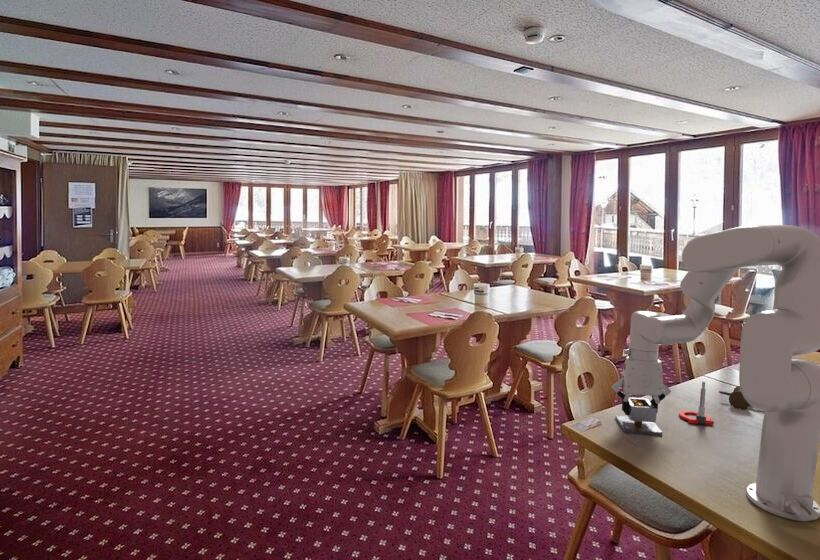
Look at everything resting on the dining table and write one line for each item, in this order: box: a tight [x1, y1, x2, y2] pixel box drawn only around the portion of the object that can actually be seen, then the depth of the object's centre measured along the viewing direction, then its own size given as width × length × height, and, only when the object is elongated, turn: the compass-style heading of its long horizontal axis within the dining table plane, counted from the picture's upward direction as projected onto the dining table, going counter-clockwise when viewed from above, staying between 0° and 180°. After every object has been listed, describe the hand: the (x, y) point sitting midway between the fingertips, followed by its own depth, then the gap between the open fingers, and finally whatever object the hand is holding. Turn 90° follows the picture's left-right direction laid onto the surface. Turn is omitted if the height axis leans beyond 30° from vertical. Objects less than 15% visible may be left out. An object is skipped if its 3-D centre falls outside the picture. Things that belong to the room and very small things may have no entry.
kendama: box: [718, 385, 751, 411], centre depth 154 cm, size 6×10×20 cm
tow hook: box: [678, 381, 715, 426], centre depth 145 cm, size 8×13×9 cm
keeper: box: [615, 403, 663, 437], centre depth 140 cm, size 10×10×7 cm
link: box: [626, 396, 658, 423], centre depth 139 cm, size 8×7×4 cm
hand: (639, 413), depth 139 cm, fingers closed on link, 6 cm apart
